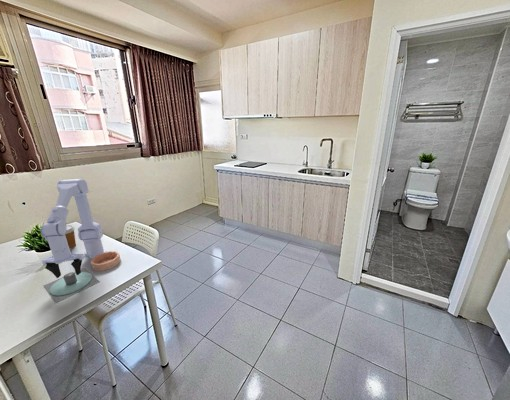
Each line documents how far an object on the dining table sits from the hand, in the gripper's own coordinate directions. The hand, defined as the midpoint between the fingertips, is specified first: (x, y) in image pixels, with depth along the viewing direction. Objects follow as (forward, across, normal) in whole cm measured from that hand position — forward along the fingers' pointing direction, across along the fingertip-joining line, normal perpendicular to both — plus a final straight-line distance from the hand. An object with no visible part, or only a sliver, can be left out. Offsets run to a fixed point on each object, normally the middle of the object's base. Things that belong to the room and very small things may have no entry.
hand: (69, 275), depth 99 cm
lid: (+5, 0, 0) cm, 5 cm away
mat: (+5, 0, 0) cm, 5 cm away
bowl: (+5, +10, +13) cm, 17 cm away
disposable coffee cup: (+5, -19, +39) cm, 44 cm away
